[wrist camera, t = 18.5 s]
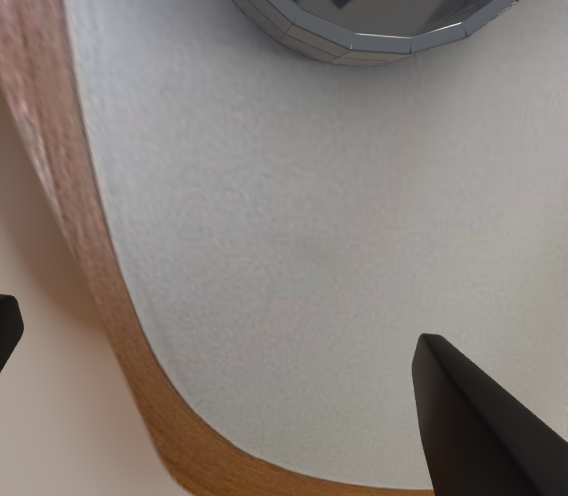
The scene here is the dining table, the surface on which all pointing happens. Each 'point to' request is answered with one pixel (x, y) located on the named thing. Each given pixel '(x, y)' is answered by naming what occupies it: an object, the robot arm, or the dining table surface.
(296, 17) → the bowl
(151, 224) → the dining table surface
